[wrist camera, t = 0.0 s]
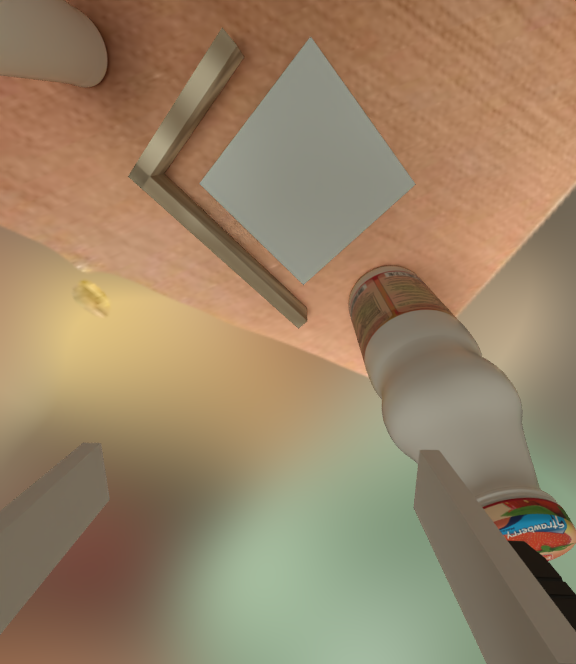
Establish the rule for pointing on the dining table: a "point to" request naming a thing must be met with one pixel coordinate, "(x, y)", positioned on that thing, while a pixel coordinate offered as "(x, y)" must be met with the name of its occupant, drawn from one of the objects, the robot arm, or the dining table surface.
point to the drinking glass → (50, 43)
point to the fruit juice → (453, 404)
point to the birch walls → (158, 186)
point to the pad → (307, 168)
